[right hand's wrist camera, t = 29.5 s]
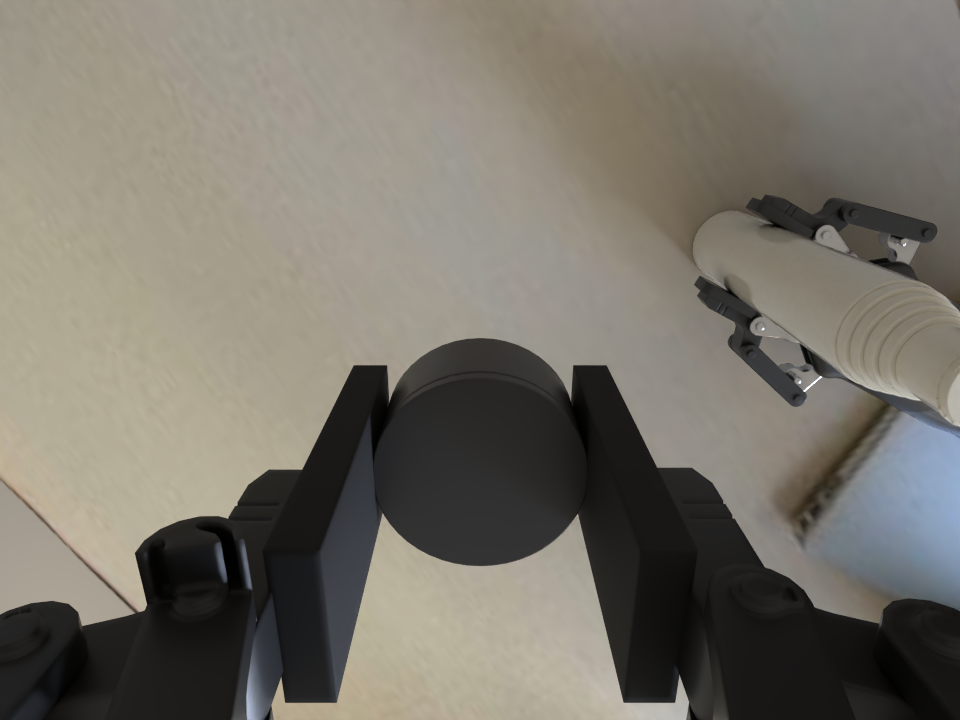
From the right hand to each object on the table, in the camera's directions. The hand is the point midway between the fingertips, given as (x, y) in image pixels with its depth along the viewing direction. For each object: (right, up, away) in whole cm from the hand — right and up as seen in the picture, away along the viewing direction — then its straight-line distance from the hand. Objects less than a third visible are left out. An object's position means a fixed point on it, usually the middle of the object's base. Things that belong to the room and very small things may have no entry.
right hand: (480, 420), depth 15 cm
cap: (0, -1, -2) cm, 2 cm away
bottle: (+18, +10, +31) cm, 37 cm away
